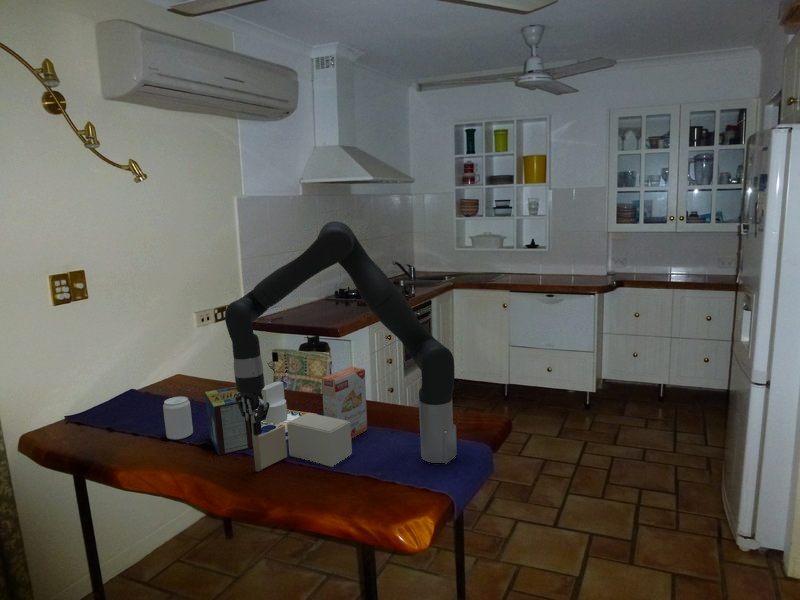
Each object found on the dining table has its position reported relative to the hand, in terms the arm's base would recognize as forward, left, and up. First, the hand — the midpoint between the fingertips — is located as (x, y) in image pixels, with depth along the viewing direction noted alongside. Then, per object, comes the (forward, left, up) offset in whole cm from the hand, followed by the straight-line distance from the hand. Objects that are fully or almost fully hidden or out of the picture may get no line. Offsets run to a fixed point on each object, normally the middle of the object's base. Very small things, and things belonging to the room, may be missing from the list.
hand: (255, 433), depth 163 cm
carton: (-9, -16, -11) cm, 21 cm away
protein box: (+22, -10, -11) cm, 27 cm away
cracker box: (-8, -30, -11) cm, 33 cm away
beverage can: (+42, -6, -11) cm, 44 cm away
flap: (0, -5, -11) cm, 12 cm away
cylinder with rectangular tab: (+24, -31, -11) cm, 41 cm away
